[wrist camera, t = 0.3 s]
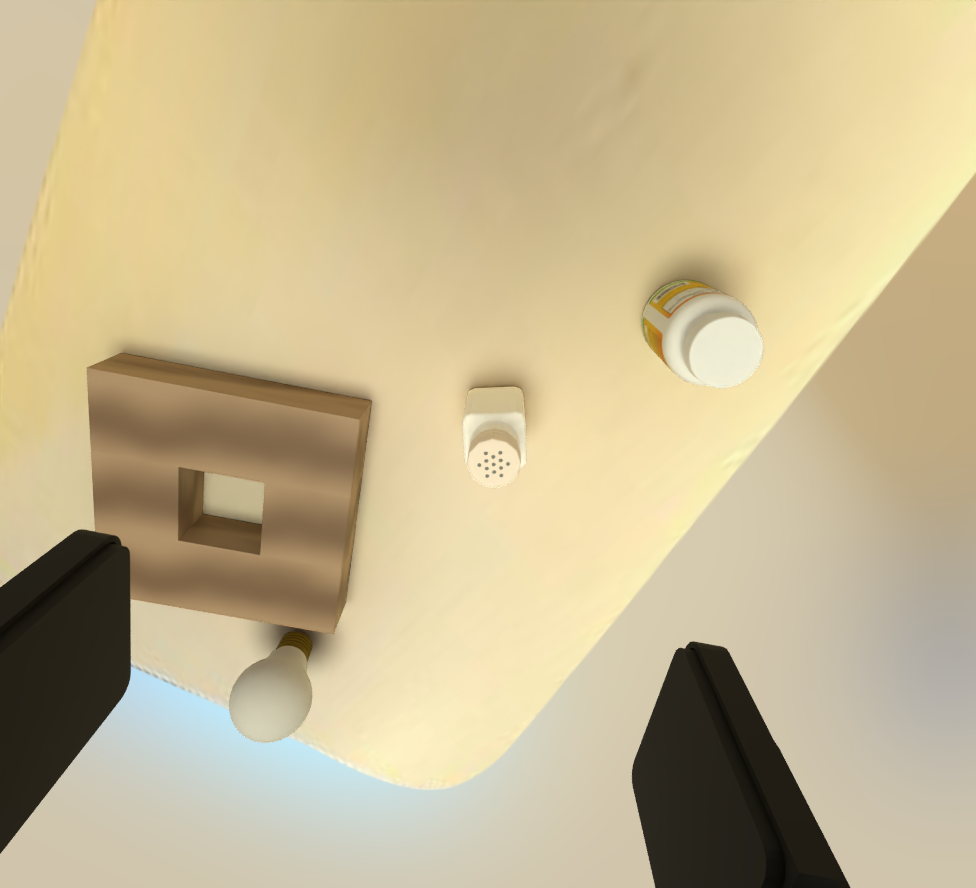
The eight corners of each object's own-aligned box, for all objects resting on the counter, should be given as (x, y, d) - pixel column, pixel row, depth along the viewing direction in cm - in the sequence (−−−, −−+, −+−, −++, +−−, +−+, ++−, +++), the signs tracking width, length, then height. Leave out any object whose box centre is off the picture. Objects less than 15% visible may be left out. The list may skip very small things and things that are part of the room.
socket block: (121, 353, 45) (86, 367, 41) (371, 400, 45) (359, 419, 42) (127, 564, 51) (98, 593, 48) (345, 602, 52) (333, 634, 48)
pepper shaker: (522, 383, 45) (526, 431, 36) (524, 435, 46) (528, 493, 37) (466, 386, 45) (457, 434, 36) (470, 438, 46) (462, 496, 37)
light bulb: (255, 648, 54) (204, 742, 45) (280, 598, 52) (231, 686, 43) (318, 674, 55) (280, 772, 46) (345, 626, 53) (310, 718, 44)
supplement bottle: (700, 367, 44) (750, 413, 35) (628, 344, 43) (660, 384, 34) (734, 293, 42) (796, 321, 33) (659, 268, 41) (701, 289, 32)
